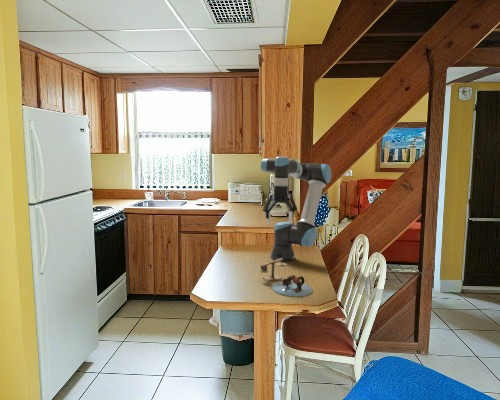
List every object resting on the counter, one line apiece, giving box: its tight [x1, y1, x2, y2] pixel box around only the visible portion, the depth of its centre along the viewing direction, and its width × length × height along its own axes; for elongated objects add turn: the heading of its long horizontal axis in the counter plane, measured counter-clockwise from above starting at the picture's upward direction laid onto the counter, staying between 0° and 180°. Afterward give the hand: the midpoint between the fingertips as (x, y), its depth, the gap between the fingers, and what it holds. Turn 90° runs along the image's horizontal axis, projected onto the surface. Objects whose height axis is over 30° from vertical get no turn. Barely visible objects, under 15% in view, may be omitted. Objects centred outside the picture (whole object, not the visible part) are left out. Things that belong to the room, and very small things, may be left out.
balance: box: [258, 258, 288, 283], centre depth 218 cm, size 16×5×11 cm, turn 114°
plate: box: [272, 281, 313, 298], centre depth 206 cm, size 20×20×1 cm
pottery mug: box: [281, 274, 306, 293], centre depth 204 cm, size 12×10×8 cm
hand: (279, 223), depth 225 cm, fingers open, 13 cm apart
